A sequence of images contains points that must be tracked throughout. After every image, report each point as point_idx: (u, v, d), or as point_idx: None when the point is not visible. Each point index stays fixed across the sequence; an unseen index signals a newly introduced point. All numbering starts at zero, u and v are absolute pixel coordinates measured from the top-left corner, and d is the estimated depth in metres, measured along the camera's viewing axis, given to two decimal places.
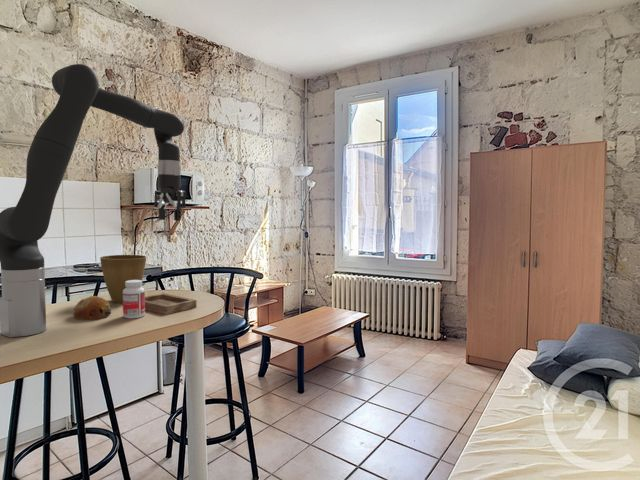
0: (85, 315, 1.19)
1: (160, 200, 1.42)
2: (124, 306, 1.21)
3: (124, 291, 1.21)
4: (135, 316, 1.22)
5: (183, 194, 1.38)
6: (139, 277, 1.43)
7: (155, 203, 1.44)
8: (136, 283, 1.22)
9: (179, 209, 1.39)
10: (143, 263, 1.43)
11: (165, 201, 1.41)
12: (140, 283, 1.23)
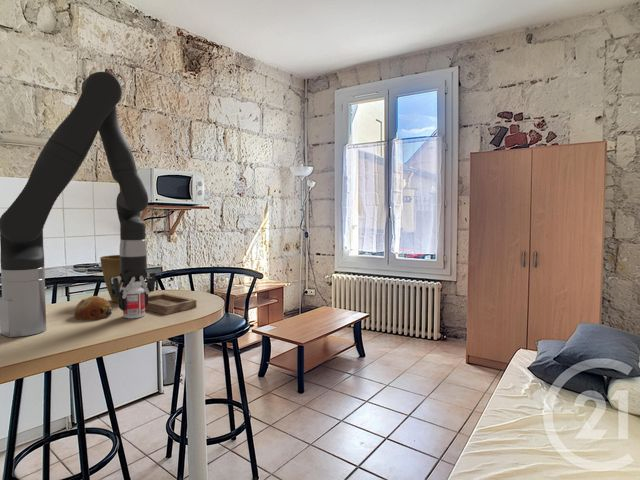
0: (86, 315, 1.19)
1: (129, 286, 1.21)
2: None
3: None
4: (135, 316, 1.22)
5: None
6: None
7: (118, 292, 1.18)
8: (136, 283, 1.22)
9: None
10: None
11: None
12: (140, 283, 1.23)
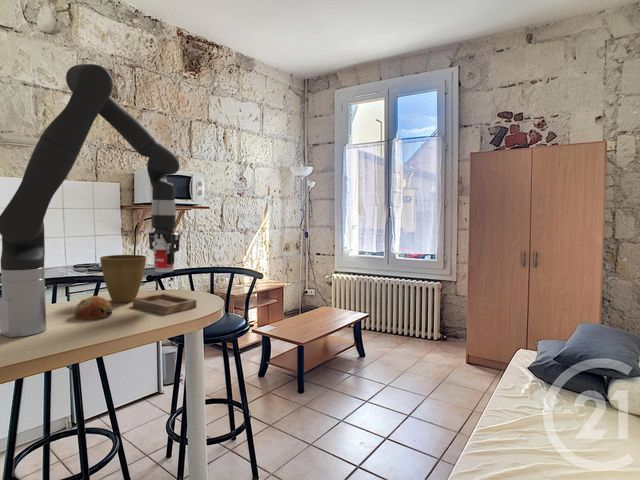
0: (87, 315, 1.19)
1: None
2: None
3: (169, 247, 1.33)
4: None
5: None
6: (139, 277, 1.43)
7: None
8: None
9: None
10: (143, 263, 1.43)
11: None
12: None
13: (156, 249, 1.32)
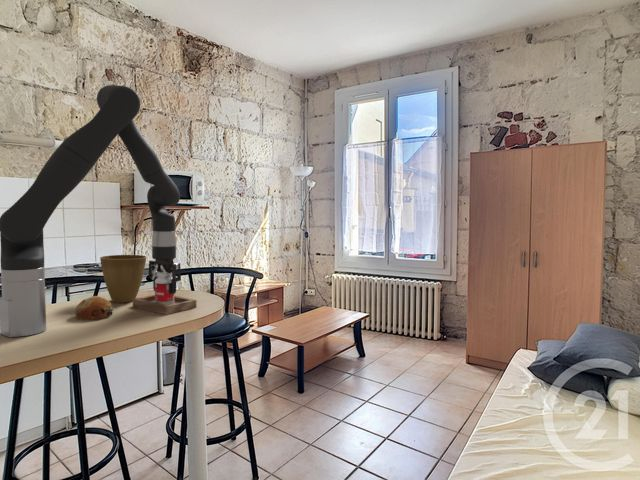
0: (87, 315, 1.19)
1: None
2: (170, 294, 1.34)
3: None
4: None
5: None
6: (139, 277, 1.43)
7: None
8: None
9: None
10: (143, 263, 1.43)
11: None
12: None
13: (156, 283, 1.33)
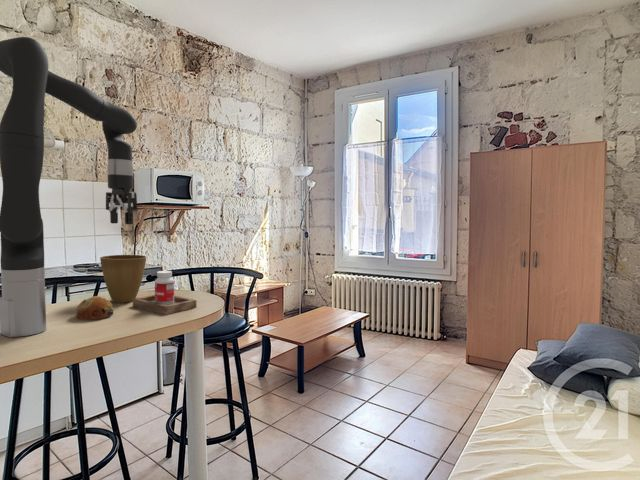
0: (88, 315, 1.19)
1: None
2: (170, 294, 1.34)
3: (169, 281, 1.34)
4: None
5: None
6: (139, 277, 1.43)
7: None
8: None
9: None
10: (143, 263, 1.43)
11: None
12: None
13: (156, 283, 1.33)
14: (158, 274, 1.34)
